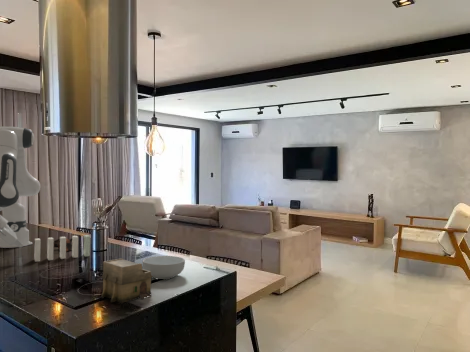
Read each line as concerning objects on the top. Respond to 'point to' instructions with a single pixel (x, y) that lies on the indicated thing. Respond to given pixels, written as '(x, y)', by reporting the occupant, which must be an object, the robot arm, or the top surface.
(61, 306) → the top surface
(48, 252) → the domino
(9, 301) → the top surface
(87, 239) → the domino
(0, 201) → the robot arm
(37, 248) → the domino
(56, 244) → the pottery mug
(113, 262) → the miniature house
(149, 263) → the cereal bowl
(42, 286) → the top surface
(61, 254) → the domino
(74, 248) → the domino
